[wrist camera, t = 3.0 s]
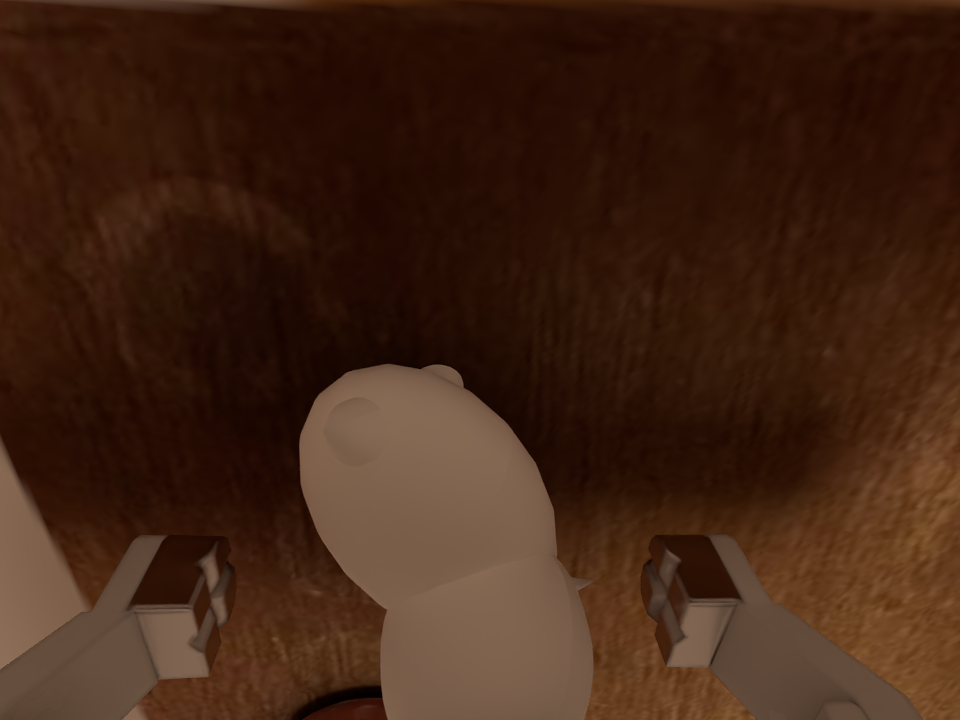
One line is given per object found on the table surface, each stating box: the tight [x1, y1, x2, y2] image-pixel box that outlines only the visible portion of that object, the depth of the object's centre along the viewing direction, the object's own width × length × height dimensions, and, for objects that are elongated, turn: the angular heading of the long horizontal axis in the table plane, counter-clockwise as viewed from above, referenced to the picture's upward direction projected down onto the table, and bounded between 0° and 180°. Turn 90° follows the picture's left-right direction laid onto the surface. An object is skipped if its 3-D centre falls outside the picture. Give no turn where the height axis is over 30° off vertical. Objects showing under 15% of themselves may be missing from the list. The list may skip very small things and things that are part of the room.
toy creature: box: [299, 364, 595, 720], centre depth 11 cm, size 5×8×6 cm, turn 25°
